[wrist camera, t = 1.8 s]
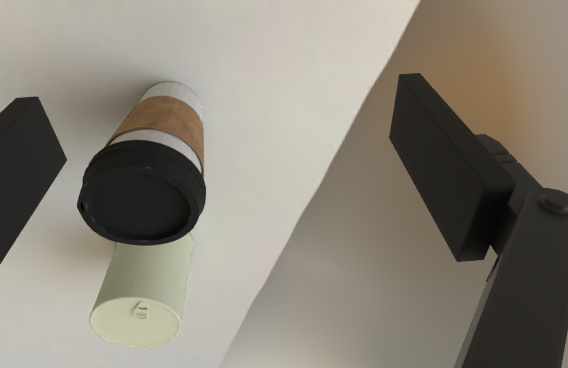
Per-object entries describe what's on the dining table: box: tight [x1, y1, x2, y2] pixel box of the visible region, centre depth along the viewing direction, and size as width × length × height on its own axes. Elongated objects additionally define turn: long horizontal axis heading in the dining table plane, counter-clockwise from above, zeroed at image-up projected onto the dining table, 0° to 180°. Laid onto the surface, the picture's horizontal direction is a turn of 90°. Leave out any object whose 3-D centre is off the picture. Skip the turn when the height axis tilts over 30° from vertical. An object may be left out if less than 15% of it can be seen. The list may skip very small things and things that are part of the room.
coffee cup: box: [77, 82, 206, 246], centre depth 32 cm, size 8×8×15 cm
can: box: [89, 233, 194, 348], centre depth 44 cm, size 9×9×12 cm
